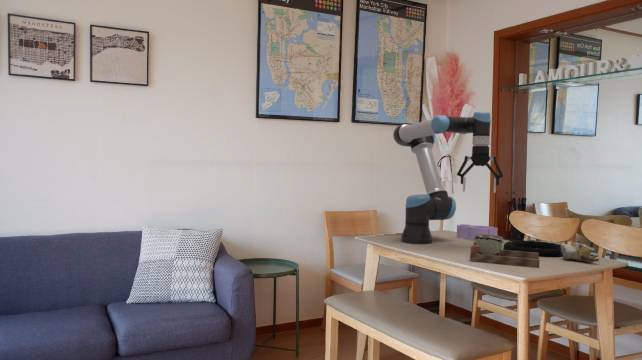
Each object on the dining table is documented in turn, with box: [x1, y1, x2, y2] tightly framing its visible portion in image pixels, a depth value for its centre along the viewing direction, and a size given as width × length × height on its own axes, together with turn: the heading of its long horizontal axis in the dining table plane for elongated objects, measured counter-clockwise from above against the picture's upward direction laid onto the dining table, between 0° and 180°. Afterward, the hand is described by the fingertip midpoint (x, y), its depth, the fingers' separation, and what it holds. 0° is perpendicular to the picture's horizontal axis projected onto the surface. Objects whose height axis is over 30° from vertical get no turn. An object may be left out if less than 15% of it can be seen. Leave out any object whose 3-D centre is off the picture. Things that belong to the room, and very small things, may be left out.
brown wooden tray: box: [469, 241, 540, 268], centre depth 215 cm, size 26×17×6 cm
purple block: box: [456, 223, 498, 242], centre depth 273 cm, size 20×12×7 cm, turn 49°
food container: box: [474, 234, 505, 256], centre depth 217 cm, size 12×6×10 cm, turn 48°
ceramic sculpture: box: [559, 240, 600, 263], centre depth 219 cm, size 11×9×15 cm
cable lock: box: [503, 240, 563, 258], centre depth 239 cm, size 28×4×30 cm
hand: (479, 192), depth 239 cm, fingers open, 13 cm apart
